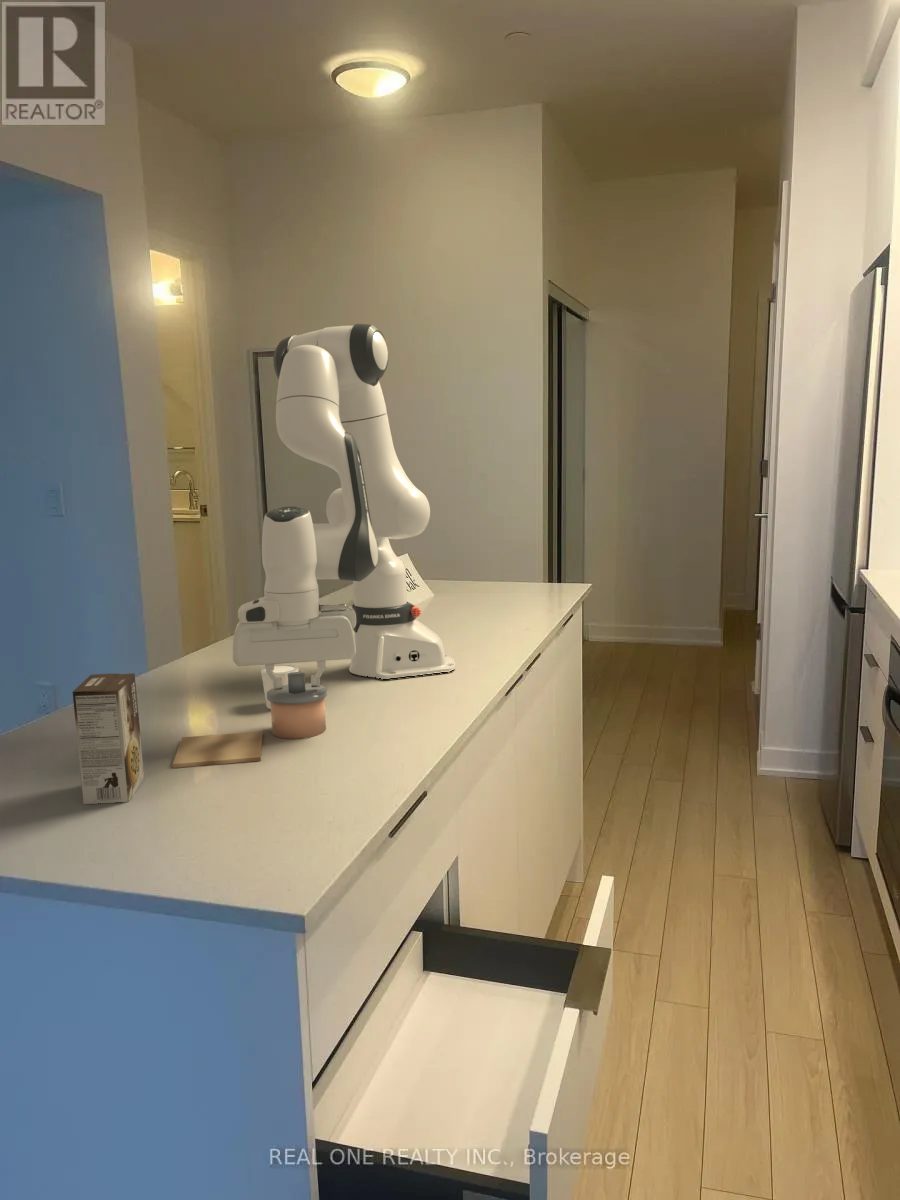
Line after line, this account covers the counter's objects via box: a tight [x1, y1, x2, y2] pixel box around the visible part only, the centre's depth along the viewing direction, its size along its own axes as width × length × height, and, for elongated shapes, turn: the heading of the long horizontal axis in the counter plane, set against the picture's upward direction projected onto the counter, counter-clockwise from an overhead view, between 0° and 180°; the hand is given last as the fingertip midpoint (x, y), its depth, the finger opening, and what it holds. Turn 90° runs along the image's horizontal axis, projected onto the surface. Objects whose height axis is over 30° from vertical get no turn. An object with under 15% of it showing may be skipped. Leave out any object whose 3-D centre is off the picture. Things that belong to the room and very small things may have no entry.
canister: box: [270, 697, 327, 740], centre depth 155 cm, size 9×9×6 cm
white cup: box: [260, 664, 299, 710], centre depth 170 cm, size 7×7×7 cm
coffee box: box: [71, 672, 145, 805], centre depth 129 cm, size 9×6×16 cm
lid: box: [267, 671, 328, 704], centre depth 155 cm, size 10×10×4 cm
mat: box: [172, 730, 264, 768], centre depth 147 cm, size 13×13×1 cm
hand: (296, 687), depth 155 cm, fingers open, 5 cm apart
